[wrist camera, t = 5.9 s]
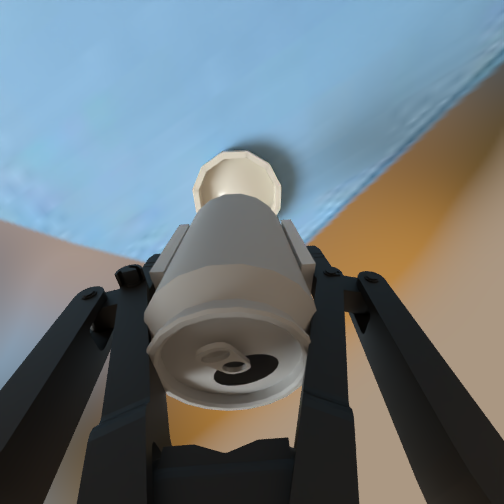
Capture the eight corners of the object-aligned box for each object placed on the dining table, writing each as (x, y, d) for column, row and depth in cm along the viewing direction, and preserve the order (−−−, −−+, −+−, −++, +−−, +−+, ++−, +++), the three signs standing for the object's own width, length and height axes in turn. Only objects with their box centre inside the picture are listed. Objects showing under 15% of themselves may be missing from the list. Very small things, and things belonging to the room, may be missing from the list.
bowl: (190, 151, 26) (186, 153, 24) (279, 148, 26) (282, 150, 24) (203, 232, 31) (201, 240, 29) (276, 229, 32) (279, 236, 30)
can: (224, 282, 20) (207, 437, 10) (173, 219, 17) (69, 357, 7) (294, 247, 19) (359, 389, 9) (253, 171, 16) (281, 253, 5)
